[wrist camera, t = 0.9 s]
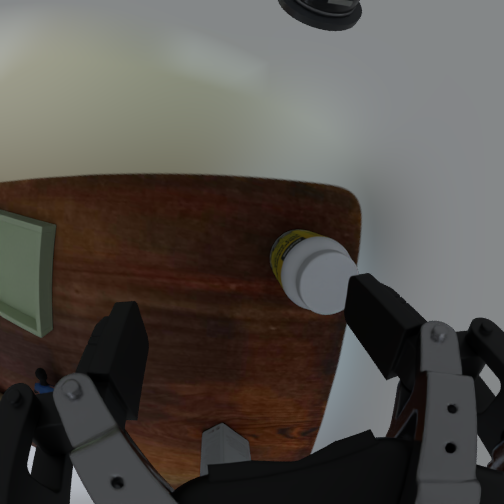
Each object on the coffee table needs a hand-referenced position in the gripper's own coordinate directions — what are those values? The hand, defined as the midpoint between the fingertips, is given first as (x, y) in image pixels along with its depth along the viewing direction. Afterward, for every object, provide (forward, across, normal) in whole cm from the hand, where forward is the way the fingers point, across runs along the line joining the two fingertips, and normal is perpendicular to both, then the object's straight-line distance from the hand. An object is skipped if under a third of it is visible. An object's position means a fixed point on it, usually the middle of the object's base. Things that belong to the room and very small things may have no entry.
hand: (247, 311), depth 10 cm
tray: (+21, +30, +6) cm, 37 cm away
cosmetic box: (+12, +3, +32) cm, 34 cm away
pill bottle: (+18, -8, +7) cm, 21 cm away
